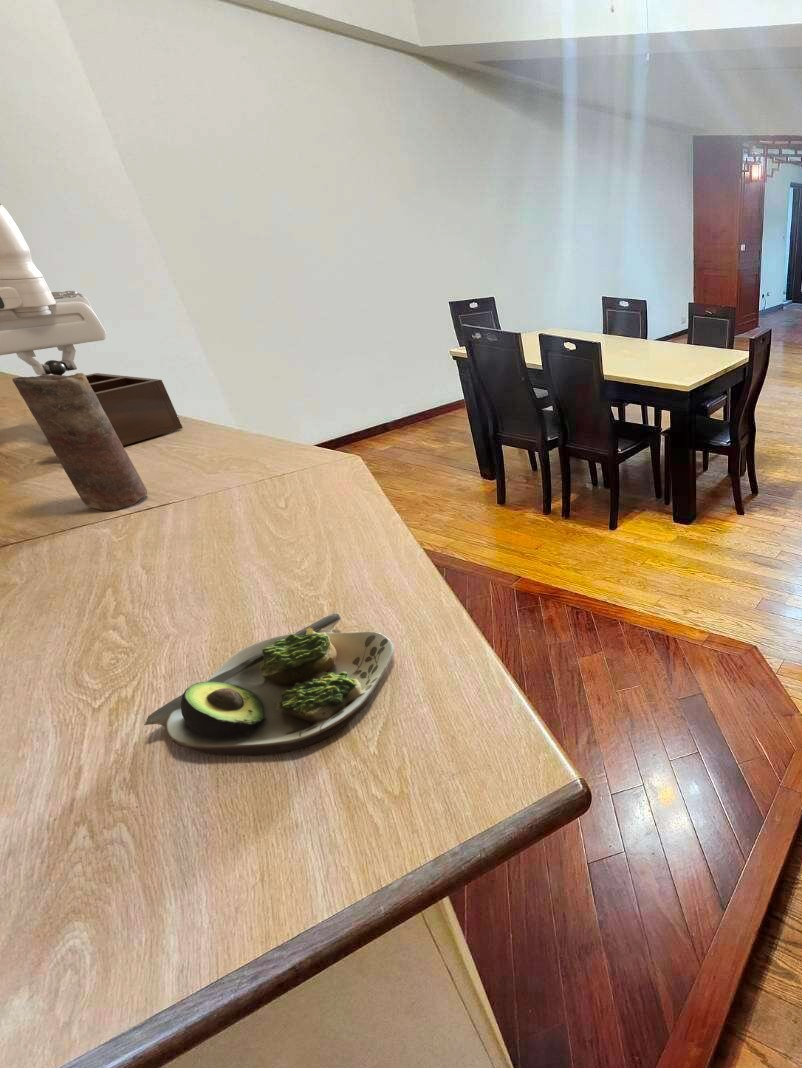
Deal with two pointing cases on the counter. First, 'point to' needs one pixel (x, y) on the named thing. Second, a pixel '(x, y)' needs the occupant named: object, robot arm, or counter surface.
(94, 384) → the shelf
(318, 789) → the counter surface
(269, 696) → the salad plate
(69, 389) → the brown textured cylinder
